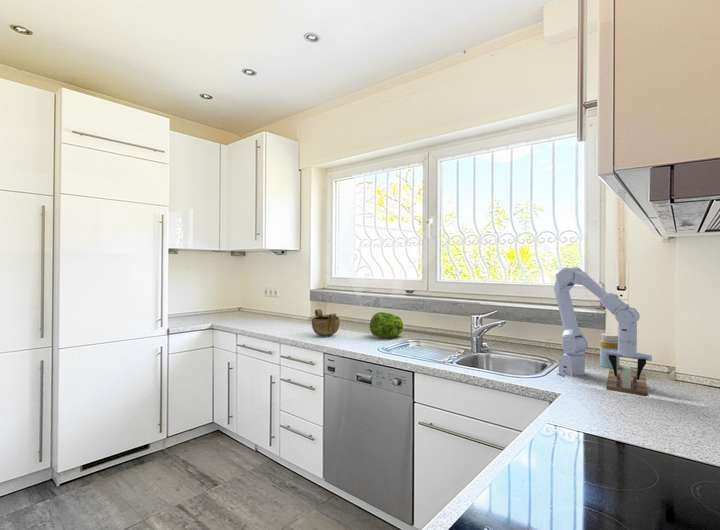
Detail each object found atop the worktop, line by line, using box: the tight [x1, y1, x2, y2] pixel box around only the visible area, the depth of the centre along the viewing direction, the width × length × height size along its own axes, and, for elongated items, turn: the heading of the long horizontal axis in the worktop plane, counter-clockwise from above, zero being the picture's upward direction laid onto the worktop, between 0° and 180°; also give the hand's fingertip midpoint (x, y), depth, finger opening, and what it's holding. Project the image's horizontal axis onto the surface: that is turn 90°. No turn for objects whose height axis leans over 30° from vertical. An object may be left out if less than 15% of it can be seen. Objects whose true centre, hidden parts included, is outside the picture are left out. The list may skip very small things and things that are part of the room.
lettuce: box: [369, 311, 405, 339], centre depth 230 cm, size 16×21×15 cm
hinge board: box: [605, 369, 649, 397], centre depth 146 cm, size 26×12×3 cm, turn 145°
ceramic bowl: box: [311, 308, 341, 338], centre depth 234 cm, size 22×17×15 cm
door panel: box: [622, 364, 632, 389], centre depth 141 cm, size 10×2×6 cm, turn 145°
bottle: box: [599, 332, 620, 370], centre depth 165 cm, size 7×7×15 cm
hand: (626, 377), depth 141 cm, fingers open, 6 cm apart
